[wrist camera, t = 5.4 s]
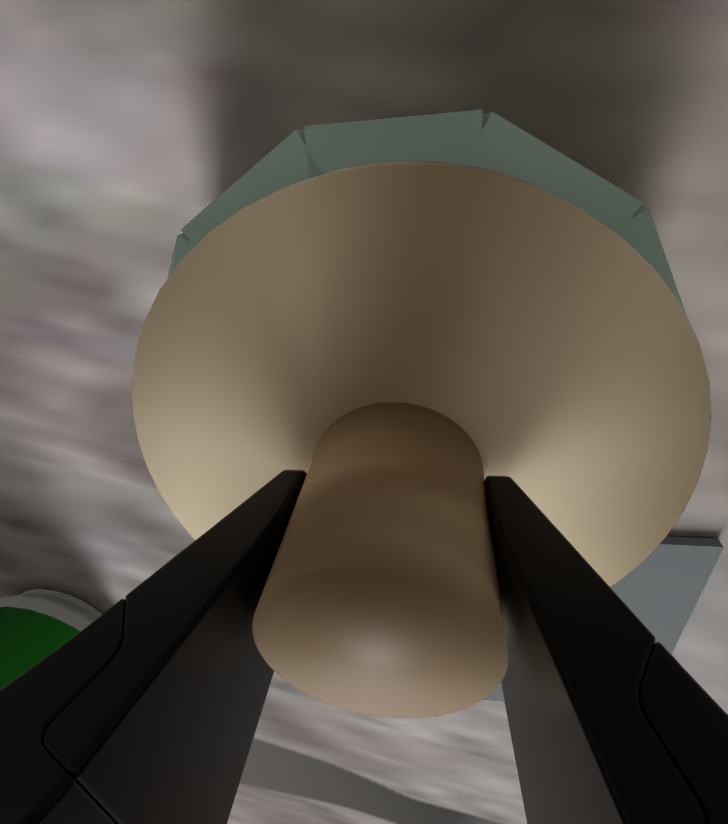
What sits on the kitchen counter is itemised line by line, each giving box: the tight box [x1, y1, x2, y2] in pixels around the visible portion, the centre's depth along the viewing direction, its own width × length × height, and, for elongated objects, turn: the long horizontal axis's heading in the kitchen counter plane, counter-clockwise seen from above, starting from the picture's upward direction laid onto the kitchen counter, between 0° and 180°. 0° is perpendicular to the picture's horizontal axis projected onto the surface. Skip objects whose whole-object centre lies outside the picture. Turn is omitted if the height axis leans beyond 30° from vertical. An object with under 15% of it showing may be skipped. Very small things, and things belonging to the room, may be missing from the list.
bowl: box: [168, 109, 686, 314], centre depth 12 cm, size 11×11×4 cm
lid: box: [132, 161, 711, 718], centre depth 7 cm, size 10×10×4 cm
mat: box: [484, 536, 723, 702], centre depth 21 cm, size 14×12×1 cm
